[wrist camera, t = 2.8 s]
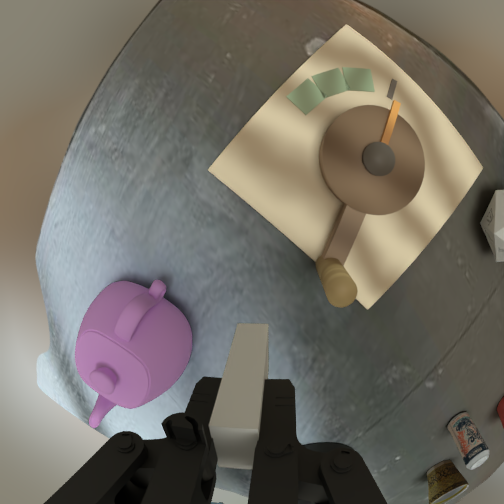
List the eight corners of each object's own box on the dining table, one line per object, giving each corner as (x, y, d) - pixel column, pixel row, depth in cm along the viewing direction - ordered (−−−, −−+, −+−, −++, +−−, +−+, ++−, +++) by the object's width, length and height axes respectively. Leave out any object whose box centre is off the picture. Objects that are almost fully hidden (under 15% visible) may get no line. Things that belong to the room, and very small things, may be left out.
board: (364, 305, 29) (367, 310, 28) (210, 170, 27) (207, 170, 26) (477, 167, 24) (483, 168, 23) (344, 29, 22) (346, 23, 20)
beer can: (468, 406, 33) (494, 449, 21) (464, 421, 34) (487, 461, 22) (448, 417, 34) (471, 463, 22) (444, 431, 35) (465, 474, 23)
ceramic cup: (412, 480, 40) (421, 510, 30) (437, 457, 37) (450, 489, 28) (446, 474, 40) (456, 500, 30) (470, 451, 37) (483, 478, 27)
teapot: (123, 242, 30) (57, 275, 19) (222, 300, 31) (194, 364, 20) (91, 354, 36) (49, 400, 24) (166, 400, 36) (138, 458, 25)
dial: (341, 86, 22) (360, 58, 16) (427, 131, 22) (466, 121, 16) (275, 257, 27) (274, 284, 20) (364, 291, 27) (386, 324, 21)
